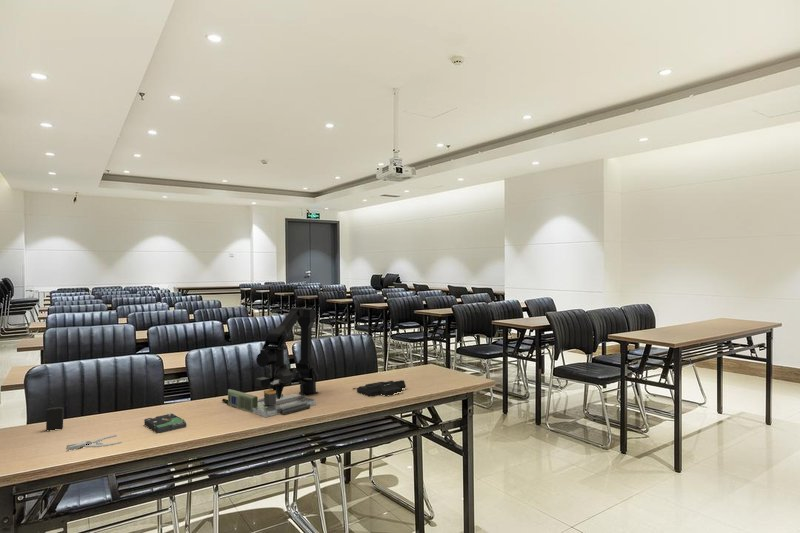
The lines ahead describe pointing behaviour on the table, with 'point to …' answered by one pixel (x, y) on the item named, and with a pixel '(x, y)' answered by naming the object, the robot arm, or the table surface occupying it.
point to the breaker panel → (280, 404)
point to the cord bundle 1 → (294, 407)
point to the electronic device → (382, 388)
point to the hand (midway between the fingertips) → (278, 398)
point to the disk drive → (165, 423)
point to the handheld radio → (241, 400)
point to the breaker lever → (270, 397)
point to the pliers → (83, 444)
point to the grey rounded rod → (263, 398)
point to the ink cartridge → (54, 418)
